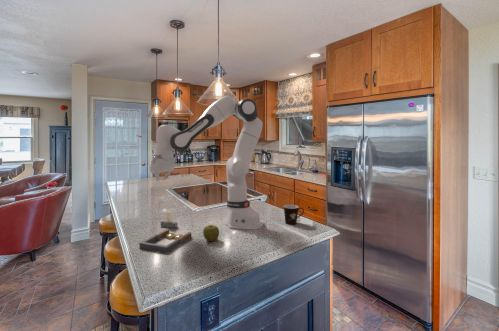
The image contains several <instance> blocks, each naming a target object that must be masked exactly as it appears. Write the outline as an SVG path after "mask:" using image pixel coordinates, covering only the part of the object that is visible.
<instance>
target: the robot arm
mask: <svg viewBox="0 0 499 331" xmlns="http://www.w3.org/2000/svg"><path fill="white" fill-rule="evenodd" d="M258 115H259V114H258V107H257V104H256V102H255V101H254V100H253V99H251V98H248V97H247V98H243V99H241V100H240V101H237V100H235V98H234V97H232V96H231V95H224V96H222V97H220V98H218V99H216V100H215V101H214V102H212V103H211V104H210V105H209V106H208V107H207V108H206V109H205V110H204V111H203V113H202V114H201V115H200V117H199V118H198V119H197V120H196V121H195V122H193V123H192V124H191V125H190V126H188V127H187V128H186V129H184V130H179V129H178V128H176V127H175V126H174V125H173V124H162V125H160V126H159V127H158V128H157V130H156V138H155V142H156V146H155V154H154V155H153V157H152V159H151V162H150V168H149V171H150V173H152V174H154V176H155V181H156V182H160V180H161V177H160V174H161V173H164V172H165V175H164V179H166V180H169V178H170V175H171V171H174V170H175V167H176V158H177V154H176V153H175V152H174V151H176V152H179V153H180V152H186V151H187V150H188V149H189V148H190V147H191V144H192V142H193V140H195V139H196V138H197V137H198V136H199V135H201V134H202V133H203V132H205V131H206V130H208V129H210V128H213V127H216V126H218V125H220V124H222V123H223V122H224V121H225V120H226V119H227V118H229V117H231V116H233V117H235V118H236V119H238V120H239V121H243V126H242V129H241V130H240V134H239V136H238V138H237V140H236V143H235V147H234V151H233V153H232V156H231V157H229V158H228V159H227V161H226V163H225V165H226V166H225V169H226V172H225V173H226V183H227V184H226V185H227V200H226V208H227V212H226V213H227V214H226V219H225V223H224V224H225V225H226V226H227V227H228V228H229V229H240V230H241V229H242V230H258V229H260V228H262V227H263V226H264V223H265V222H264V221H263V220H262V219H261V217H260V213H259V212H257V211H256V210H255V209H254V208H253V207H252V206H250V204H251V203H252V202H251V200H250V201H249V200H248V198H247V197H248V195H247V193H248V190H247V188H248V187H247V180H246V176H247V175H248V173H249V170H250V166H251V163H252V159H253V155H254V152H255V149H256V147H257V144H258V143H259V139H260V137H261V134H262V130H263V125H264V123H263V121H262V120H261V118H259V117H258Z"/></svg>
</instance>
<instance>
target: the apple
mask: <svg viewBox="0 0 499 331" xmlns="http://www.w3.org/2000/svg"><path fill="white" fill-rule="evenodd" d="M202 234H203V235H202V236H203V237H204V239H205V240H206V241H209V242H216V241H217V240H218V239H219V236H220V230H219V227H218V226H217V225H214V224H210V225H209V224H208V225H206V226H205V227H203V232H202Z"/></svg>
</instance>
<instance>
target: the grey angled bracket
mask: <svg viewBox="0 0 499 331" xmlns="http://www.w3.org/2000/svg"><path fill="white" fill-rule="evenodd" d="M155 235H156V234H155ZM155 235H152V236H150V237H149V238H146V239H144V240H142V241H140V242H139V249H142V250H147V249H148V250H147V251H152V250H153V252H158V251H159V253H164V254H168V253H169V252H171V251H172V250H175V248H177V247H178V245H179V246H180V245H181V244H180V239H176V240H175V239H174V240H173V241H172V242H170V243H168V244H166V245H164V244H163V245H162V244H157V243H155V241H156V242H157V241H158V240H157V236H155Z"/></svg>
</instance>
